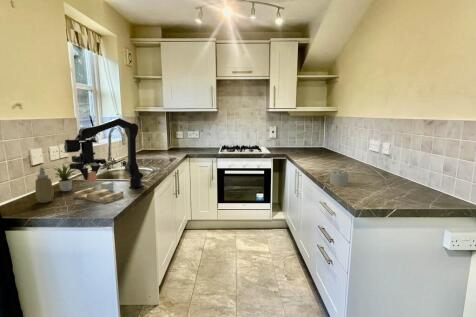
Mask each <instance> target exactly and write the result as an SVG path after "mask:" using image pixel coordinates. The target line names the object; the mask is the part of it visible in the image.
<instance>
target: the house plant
mask: <svg viewBox="0 0 476 317" xmlns="http://www.w3.org/2000/svg"><path fill="white" fill-rule="evenodd" d="M70 164H71V163H69V164H68V165H67V166H66V164H62V169H61V168H60V167H57V168H56V167H55V168H52V170H54V171H56V172H55V173H54V175H55V179H57V178H59V180H58V185H59V188H60V191H61V192H68V191H71V190H72V186H73V185H72V184H73V178H71V177H72V176H75V175H77V172H76V171H77V169H70V168H69V165H70Z"/></svg>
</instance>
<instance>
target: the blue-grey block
mask: <svg viewBox="0 0 476 317" xmlns="http://www.w3.org/2000/svg"><path fill="white" fill-rule="evenodd" d="M100 189H101V190H103V189H109V190H111V192H113V191H114V182H111V181H105V182H102V183H100ZM112 190H113V191H112Z"/></svg>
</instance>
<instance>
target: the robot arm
mask: <svg viewBox="0 0 476 317" xmlns="http://www.w3.org/2000/svg"><path fill="white" fill-rule="evenodd" d="M115 127H119V128H122V129H124V133H125V136H126V137H127V162H126V163H125V164H124V171H125V174H127V175H128V177H129V178H130V180H129V183H130V184H129V185H130V186H128V188H129V189H134V188H136V189H135V190H137V188H138V189H141V188H144V187H145V185H143V181H142V180H143V178H144V174H143V173H142V172H141V171H140V169H139V165H138V162H137V141H136V140H137V136H138V133H139V125H138V124H136V123H135V122H129V121H127V120H125V119H122V118H119V117H115V118H114V119H112V120H108V121H106V122H102V123H99V124H97V125H91V126H85V127H80V129H78V133H77V136H76V137H75V138H73V139H64V145H63V148H64V149H63V150H64V153H66V154H69V153H77V152H78V153H79V151H81V152H80V153H79V156H77V155H72V156H71V163H69V164H70V165H69V164H68V165H69V166H68V168H69V169H71V170H77V171H80V173H81V174H82V178H83V177H84V178H85V180H87V178H88V171H89V168H88V167H87V166H89V167H90V168H91V171H96V175H97V174H98V171H99V169H100V167H102V165H106V164H107V160H106V158H100V157H98V158H95V155H96V152H95V151H94V143H97V142H98V141H97V140H96V139H95V138H94V137H95V136H96V135H98V134H99V133H101V132H104V131H107V130H109V129H113V128H115Z"/></svg>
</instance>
